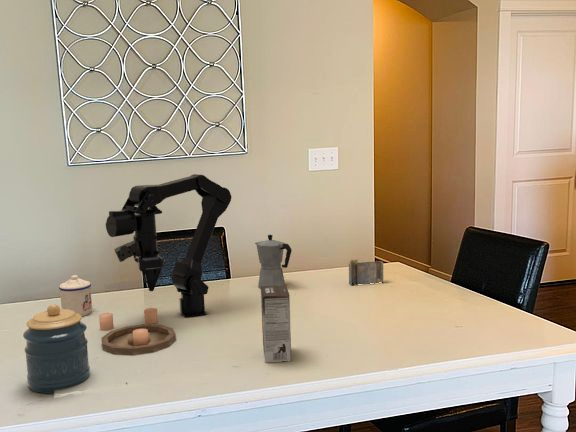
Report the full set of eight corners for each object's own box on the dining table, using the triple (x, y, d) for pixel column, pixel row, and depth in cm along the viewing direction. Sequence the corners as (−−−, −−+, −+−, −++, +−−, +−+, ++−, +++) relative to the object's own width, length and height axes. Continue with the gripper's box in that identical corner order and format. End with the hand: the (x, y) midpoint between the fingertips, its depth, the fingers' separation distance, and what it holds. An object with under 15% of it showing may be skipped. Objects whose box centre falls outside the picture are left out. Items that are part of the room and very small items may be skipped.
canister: (90, 389, 134) (83, 309, 132) (24, 398, 131) (17, 316, 128) (90, 367, 147) (85, 293, 144) (31, 375, 143) (24, 299, 140)
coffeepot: (248, 287, 214) (246, 235, 211) (266, 281, 221) (264, 230, 219) (283, 293, 205) (281, 239, 202) (300, 287, 212) (299, 234, 209)
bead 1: (113, 328, 175) (112, 312, 174) (114, 332, 171) (113, 316, 171) (99, 329, 174) (98, 314, 173) (100, 333, 170) (99, 317, 170)
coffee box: (262, 349, 155) (260, 285, 153) (288, 347, 156) (286, 284, 153) (264, 363, 146) (261, 295, 144) (292, 361, 147) (290, 294, 144)
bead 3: (157, 322, 179) (156, 307, 178) (158, 326, 175) (157, 310, 175) (144, 324, 177) (143, 308, 177) (145, 328, 174) (144, 312, 173)
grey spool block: (351, 287, 212) (350, 259, 210) (349, 285, 215) (348, 257, 213) (383, 285, 214) (383, 257, 212) (381, 282, 217) (380, 255, 215)
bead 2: (147, 345, 158) (146, 327, 157) (149, 349, 155) (148, 332, 154) (133, 347, 157) (132, 329, 156) (134, 351, 153) (133, 334, 153)
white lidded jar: (89, 317, 185) (86, 278, 184) (57, 319, 184) (54, 280, 183) (97, 305, 197) (95, 269, 195) (67, 307, 196) (64, 270, 194)
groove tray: (169, 329, 172) (168, 320, 172) (180, 351, 155) (180, 341, 155) (100, 338, 166) (99, 329, 166) (104, 362, 149) (103, 351, 149)
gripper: (112, 229, 179) (116, 282, 181) (117, 240, 161) (122, 299, 163) (152, 225, 182) (156, 278, 184) (161, 236, 165) (165, 294, 167)
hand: (149, 287), depth 175 cm, fingers open, 9 cm apart
